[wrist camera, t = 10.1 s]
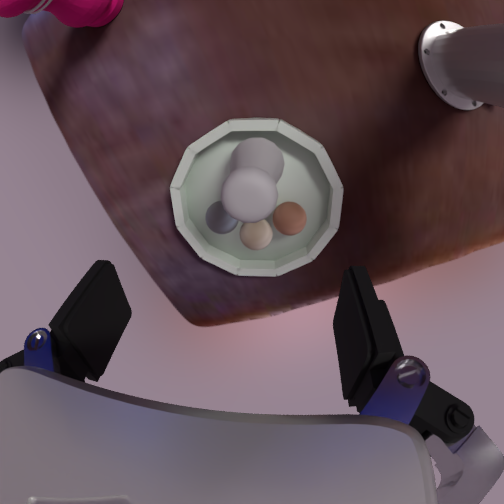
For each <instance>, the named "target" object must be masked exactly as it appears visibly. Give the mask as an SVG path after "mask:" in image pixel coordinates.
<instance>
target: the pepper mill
mask: <svg viewBox="0 0 504 504" xmlns="http://www.w3.org/2000/svg"><path fill="white" fill-rule="evenodd" d="M123 2H124V0H0V16H1V17H6V18H9V17H14V16H18V15H20V14H21V13H23V12H24V13H26V14H28V13H30V14H36V13H39V12H40V11H42V10H44V11H49V12H51V13H52V14H54V15H55V16H56V17H57V19H58V20H59V21H60V22H62V23H63V24H65V25H67V26H71V27H76V28H78V27H84V26H91V27H101V26H104V25H106V24H107V23H109V22H110V21H112V20H113V19H114V18H115V17H116V16H117V14H118V13H119V12H120V10H121V8H122V6H123Z"/></svg>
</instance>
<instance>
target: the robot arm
mask: <svg viewBox="0 0 504 504" xmlns="http://www.w3.org/2000/svg"><path fill="white" fill-rule="evenodd" d="M424 52H425V53H424ZM418 54H419V61H420V64H421V68H422V71H423V73H424V75H425V78H426V80H427V81H428V83H429V85H430V87H431V88H432V89H433V90H434V92H435V93H436V94H437V95H438V96H439V97H440V98H441V99H442V100H443V101H444V102H446V103H447V104H449V105H450V106H453V107H455V108H458V109H462V110H473V109H476V108H478V107H480V106H481V105H482V104H483V103H487V104H491V105H495V106H499V107H502V108H504V24H492V25H483V26H475V27H468V28H464V27H462V26H460V25H458V24H456V23H454V22H451V21H437V22H434V23H431V24H429V25H428V26H426V28H425V29H424V30H423V31H422V34H421V36H420V39H419V44H418ZM131 314H132V312H131V308H130V306H129V303H128V301H127V298H126V296H125V293H124V291H123V288H122V285H121V283H120V280H119V278H118V275H117V272H116V270H115V267H114V265H113V264H111V262H110V261H108V260H97V261H96V262H95V263H94V264H93V265H92V267H91V268H90V269H89V271H88V272H87V273H86V274H85V276H84V277H83V278H82V279H81V281H80V282H79V283H78V284H77V286H76V287H75V288H74V290H73V291H72V292H71V294H70V295H69V296H68V298H67V299H66V301H65V302H64V303H63V305H62V306H61V308H60V309H59V310H58V312H57V313H56V315H55V316H54V318H53V319H52V320H51V322H50V323H49V326H50V328H51V329H52V330H51V332H49V331H48V330H47V329H46V328H38V329H35V330H34V331H32V332H31V333H30V334H29V335H28V336H27V338H26V340H25V343H24V350H22V351H20V352H18V353H16V354H14V355H12V356H10V357H8V358H6V359H4V360H3V361H1V362H0V504H479V503H480V502H481V501H482V499H483V498H484V497H485V495H486V494H487V493H488V492H489V490H490V489H491V488H492V486H493V485H494V484H495V483H496V481H497V480H498V479H499V477H500V476H501V474H502V472H503V470H504V456H503V454H502V453H501V451H500V450H499V449H498V448H497V447H496V445H495V444H494V443H493V442H492V440H491V439H490V438H489V437H488V435H487V434H486V433H485V432H484V431H483V429H482V428H481V427H480V426H478V427H475V425H474V414H473V411H472V410H471V408H470V407H469V406H468V405H467V404H466V403H464V402H463V401H461V400H459V399H458V398H456V397H454V396H453V395H451V394H450V393H448V392H447V391H445V390H443V389H442V388H440V387H438V386H437V385H435V384H434V383H432V382H430V371H429V369H428V367H427V365H426V364H425V363H424V362H423V361H422V360H420V359H419V358H417V357H414V356H404V354H403V351H402V348H401V345H400V342H399V339H398V336H397V333H396V330H395V327H394V325H393V322H392V319H391V316H390V314H389V311H388V308H387V306H386V303H385V301H383V300H378V298H377V295H376V293H375V290H374V287H373V285H372V282H371V280H370V277H369V275H368V272H367V270H366V267H365V266H350V267H349V270H345V271H344V274H343V279H342V284H341V289H340V293H339V298H338V302H337V306H336V311H335V315H334V320H333V329H334V335H335V341H336V348H337V354H338V361H339V368H340V375H341V383H342V391H343V397H344V400H347V399H348V403H349V407H350V406H356V407H357V412H359V413H360V414H359V415H350V414H348V415H347V414H346V415H344V414H343V415H269V414H249V413H236V412H225V411H215V410H207V409H199V408H192V407H186V406H179V405H174V404H168V403H163V402H158V401H153V400H148V399H143V398H139V397H135V396H130V395H126V394H122V393H119V392H114V391H111V390H107V389H104V388H100V387H97V386H94V385H91V384H88V383H85V380H84V379H85V377H87V378H88V379H89V380H93V381H96V382H98V380H99V378H100V376H102V375H103V374H104V371H105V369H106V367H107V365H108V363H109V361H110V359H111V356H112V354H113V352H114V350H115V348H116V346H117V344H118V342H119V340H120V338H121V336H122V333H123V332H124V330H125V328H126V326H127V324H128V322H129V320H130V318H131ZM430 457H432V458H433V459H434V461H435V462H436V464H435V466H436V467H437V468H438V470H439V472H440V474H441V482H440V485H439V487H438V488H437V489H436V484H435V477H434V471H433V466H432V462H431V458H430Z"/></svg>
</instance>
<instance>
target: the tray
mask: <svg viewBox="0 0 504 504" xmlns="http://www.w3.org/2000/svg"><path fill="white" fill-rule="evenodd" d="M249 138H265V139H267V140H269V141H271V142H273V143H275V145H276V146H277V147H278V148H279V149H280V150H281V151H282V154H283V158H284V163H285V165H284V169H283V173H282V176H281V178H280V179H279V181H278V182H277V184H276V187H277V191H278V199H277V203H276V207H277V206H278V205H280V204H281V203H284V202H295V203H297V204H299V205H300V206H302V208H303V209H304V210H305V213H306V216H307V221H306V225H305V227H304V229H303V230H302V231H301V232H300V233H298V234H296V235H292V236H288V235H284V234H281V233H280V232H279V231H277V229H276V228H275V227H274V224H273V213H274V210H275V209H276V207H275V209H274V210H273V211H272V213H271V214H270V215H269V216H268V217H267V218H266V219H264V220H266V221H267V222H268V223H269V224H270V226H271V228H272V232H273V236H272V240H271V242H270V243H269V245H268V246H267V247H265V248H264V249H261V250H251V249H249V248H247V247H245V246H244V245H243V243H242V242H241V240H240V235H239V232H240V228H241V226H242V224H243V222H241V221H238V224H237V226H236V228H235V229H234V230H233V231H231V232H230V233H227V234H217V233H214V232H213V231H211V230H210V229H209V227H208V226H207V224H206V220H205V215H206V212H207V209H208V208H209V207H210V205H212V204H213V203H215V202H217V201H221V190H222V184H223V182H224V181H225V180H226V178H227V177H228V176H229V174H230V159H231V154H232V152H233V150H234V149H235V148H236V146H237V145H238V144H239V143H240V142H243V141H245V140H247V139H249ZM170 186H171V187H170V192H171V199H172V205H173V211H174V217H175V223H176V226H178V227H177V229H178V230H179V231H180V233H181V234H182V235H183V236H184V238H185V239H186V240H187V242H188V243H189V244H190V245H191V247H192V248H193V249H194V250H195V252H196V253H197V254H198V255H199V257H202V256H203V257H202V259H203V260H205V261H208V262H210V263H212V264H214V265H216V266H218V267H220V268H222V269H224V270H226V271H228V272H230V273H233V274H235V275H237V273H238V276H274V277H276V274H277V276H280V275H282V274H284V273H286V272H289V271H291V270H293V269H296V268H298V267H300V266H303V265H305V264H307V263H309V262H312V261H313V260H315V258H316V257H317V256H318V255H319V253H320V252H321V251H322V250H323V248H324V247H325V246H326V245H327V243H328V242H329V241H330V240H331V238H332V237H333V236H334V235H335V233H336V232H337V231H338V229H337V228H339V223H340V215H341V207H342V199H343V190H344V188H343V185H342V183H341V181H340V179H339V176H338V174H337V172H336V170H335V168H334V166H333V164H332V162H331V160H330V158H329V156H328V154H327V152H326V150H325V148H324V147H323V146H322V145H321V143H320V142H318V141H317V140H315V139H314V138H312V137H310V136H309V135H307V134H306V133H304V132H303V131H301V130H300V129H298V128H296V127H294V126H292V125H290V124H288V123H287V122H285V121H283V120H281V119H280V120H278V118H256V117H255V118H242V119H231V120H228V121H226V122H225V123H223V124H222V125H220V126H218V127H217V128H215V129H214V130H212V131H211V132H209V133H207V134H206V135H204V136H203V137H201V138H200V139H198V140H197V141H195V142H194V143H192V144H191V145H190V146H188V148H187V149H186V151H185V153H184V155H183V157H182V160H181V162H180V164H179V166H178V169H177V171H176V173H175V176H174V178H173V180H172V183H171V185H170ZM312 259H313V260H312Z"/></svg>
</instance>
